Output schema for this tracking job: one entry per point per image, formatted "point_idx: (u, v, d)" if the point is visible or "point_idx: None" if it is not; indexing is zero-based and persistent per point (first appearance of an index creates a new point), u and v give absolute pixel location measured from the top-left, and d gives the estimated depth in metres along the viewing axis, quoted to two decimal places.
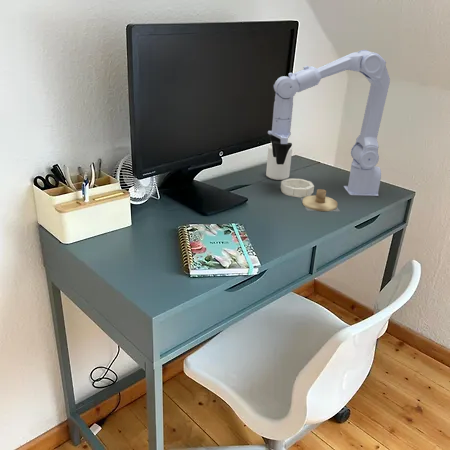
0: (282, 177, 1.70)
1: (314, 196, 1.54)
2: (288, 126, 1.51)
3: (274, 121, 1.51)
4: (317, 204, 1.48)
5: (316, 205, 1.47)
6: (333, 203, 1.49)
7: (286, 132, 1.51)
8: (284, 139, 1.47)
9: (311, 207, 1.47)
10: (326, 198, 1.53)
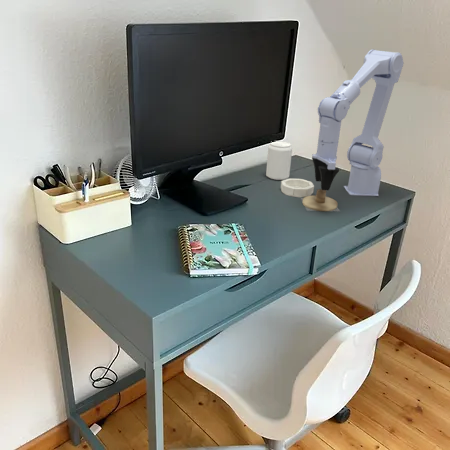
0: (282, 177, 1.70)
1: (314, 196, 1.54)
2: (335, 150, 1.42)
3: (320, 144, 1.42)
4: (317, 204, 1.48)
5: (316, 205, 1.47)
6: (333, 203, 1.49)
7: (332, 156, 1.42)
8: (332, 164, 1.38)
9: (311, 207, 1.47)
10: (326, 198, 1.53)
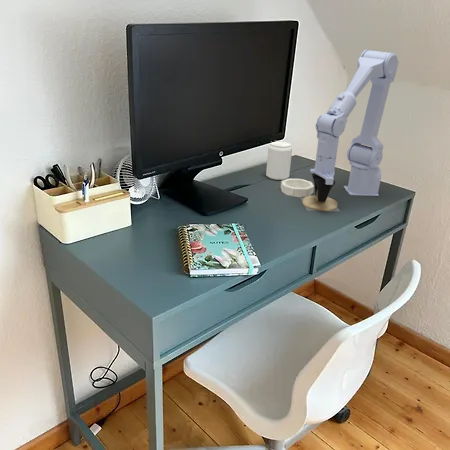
0: (282, 177, 1.70)
1: (314, 196, 1.54)
2: (333, 165, 1.43)
3: (318, 160, 1.43)
4: (317, 204, 1.48)
5: (316, 205, 1.47)
6: (333, 203, 1.49)
7: (330, 171, 1.44)
8: (330, 180, 1.40)
9: (311, 207, 1.47)
10: None
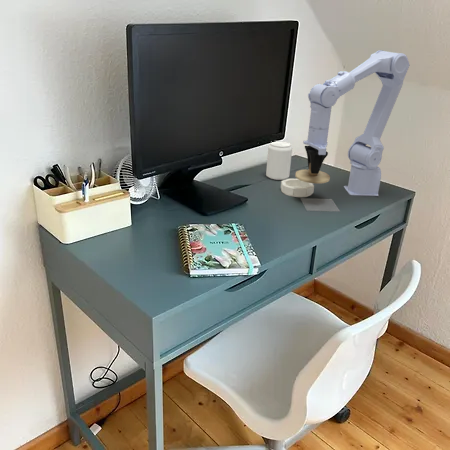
0: (282, 177, 1.70)
1: (307, 170, 1.55)
2: (325, 136, 1.44)
3: (311, 131, 1.44)
4: (309, 177, 1.49)
5: (309, 177, 1.48)
6: (326, 176, 1.50)
7: (323, 142, 1.45)
8: (322, 150, 1.41)
9: (303, 179, 1.48)
10: (319, 172, 1.54)
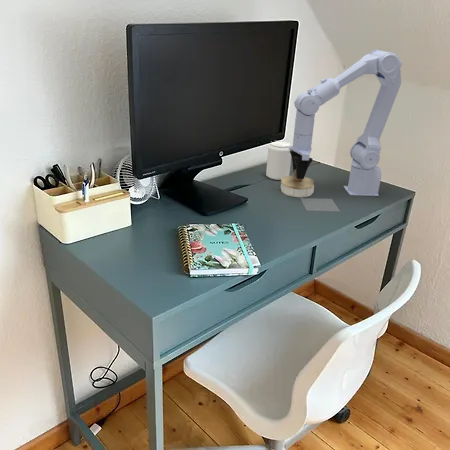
0: (282, 177, 1.70)
1: (293, 176, 1.63)
2: (309, 142, 1.52)
3: (295, 137, 1.52)
4: (294, 183, 1.56)
5: (293, 183, 1.56)
6: (310, 182, 1.58)
7: (307, 148, 1.52)
8: (306, 155, 1.48)
9: (288, 185, 1.55)
10: (304, 178, 1.61)
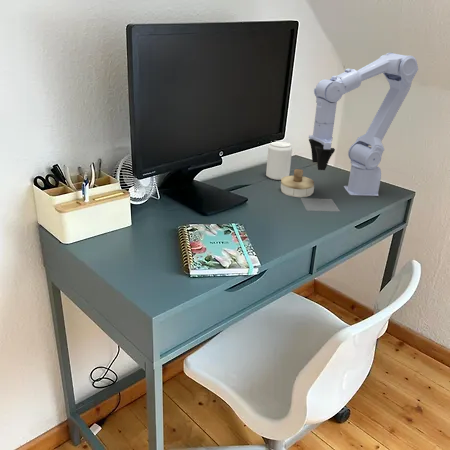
0: (282, 177, 1.70)
1: (293, 176, 1.63)
2: (331, 131, 1.46)
3: (316, 125, 1.46)
4: (294, 183, 1.56)
5: (293, 183, 1.56)
6: (310, 182, 1.58)
7: (328, 137, 1.47)
8: (327, 144, 1.43)
9: (288, 185, 1.55)
10: (304, 178, 1.61)
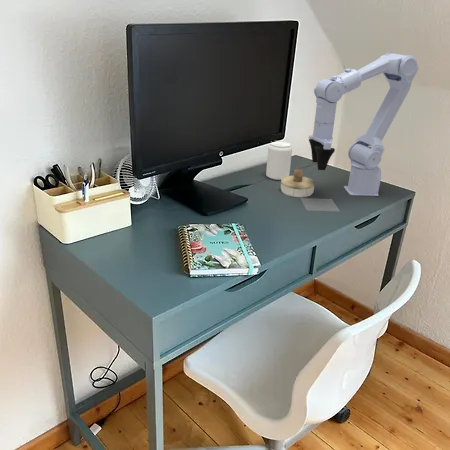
0: (282, 177, 1.70)
1: (293, 176, 1.63)
2: (331, 131, 1.46)
3: (316, 125, 1.46)
4: (294, 183, 1.56)
5: (293, 183, 1.56)
6: (310, 182, 1.58)
7: (328, 137, 1.47)
8: (327, 144, 1.43)
9: (288, 185, 1.55)
10: (304, 178, 1.61)
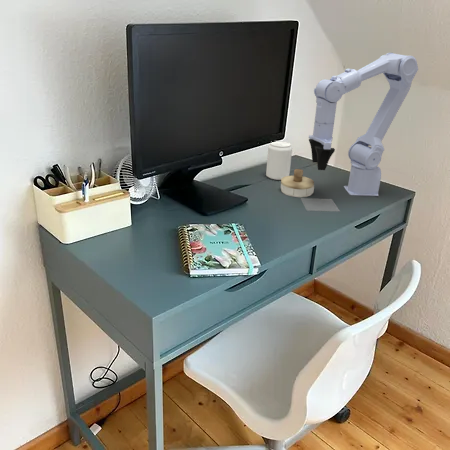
0: (282, 177, 1.70)
1: (293, 176, 1.63)
2: (331, 131, 1.46)
3: (316, 125, 1.46)
4: (294, 183, 1.56)
5: (293, 183, 1.56)
6: (310, 182, 1.58)
7: (328, 137, 1.47)
8: (327, 144, 1.43)
9: (288, 185, 1.55)
10: (304, 178, 1.61)
